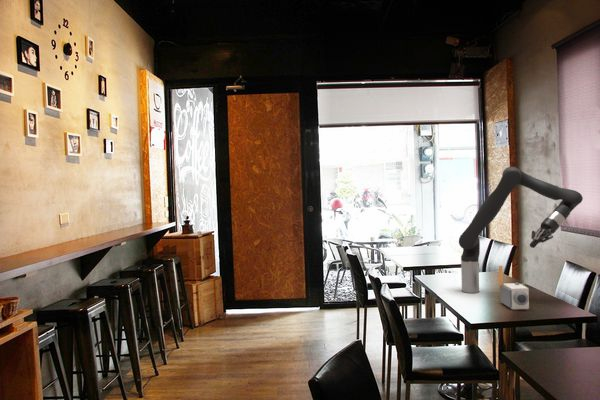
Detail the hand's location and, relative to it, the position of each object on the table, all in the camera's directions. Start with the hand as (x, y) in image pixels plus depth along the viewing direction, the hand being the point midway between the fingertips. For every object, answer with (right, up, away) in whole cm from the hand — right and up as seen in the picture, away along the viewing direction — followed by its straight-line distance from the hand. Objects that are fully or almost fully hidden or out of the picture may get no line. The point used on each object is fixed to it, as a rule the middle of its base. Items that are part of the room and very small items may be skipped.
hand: (531, 246), depth 249 cm
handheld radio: (0, -28, +14) cm, 32 cm away
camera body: (-10, -29, -5) cm, 31 cm away
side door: (-14, -28, -3) cm, 32 cm away
